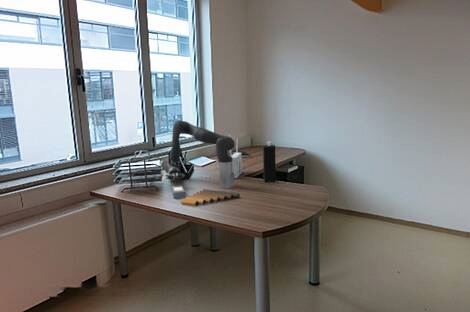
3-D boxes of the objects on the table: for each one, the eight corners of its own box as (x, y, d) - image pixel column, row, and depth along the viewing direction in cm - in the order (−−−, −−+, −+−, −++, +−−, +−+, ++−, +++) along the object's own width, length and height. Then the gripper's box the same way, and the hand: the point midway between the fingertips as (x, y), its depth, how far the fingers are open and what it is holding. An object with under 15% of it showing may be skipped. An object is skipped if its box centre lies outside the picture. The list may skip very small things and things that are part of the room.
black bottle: (263, 179, 254) (262, 140, 249) (274, 179, 255) (273, 140, 249) (264, 182, 247) (263, 142, 242) (276, 181, 247) (275, 141, 242)
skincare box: (237, 179, 259) (236, 157, 256) (229, 178, 260) (228, 157, 258) (242, 172, 280) (241, 152, 277) (235, 172, 281) (234, 152, 278)
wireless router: (251, 158, 333) (251, 137, 329) (227, 160, 328) (226, 138, 324) (242, 152, 365) (242, 133, 362) (220, 154, 360) (219, 134, 357)
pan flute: (239, 198, 216) (205, 193, 228) (239, 192, 215) (205, 188, 227) (217, 210, 194) (181, 205, 207) (217, 204, 194) (180, 199, 206)
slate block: (171, 185, 232) (173, 192, 217) (182, 184, 234) (184, 191, 219) (171, 192, 233) (173, 199, 218) (182, 191, 235) (185, 197, 219)
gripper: (164, 168, 247) (165, 174, 230) (183, 167, 250) (186, 172, 233) (164, 179, 248) (166, 185, 231) (184, 177, 251) (187, 183, 235)
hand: (176, 179), depth 232 cm, fingers closed
